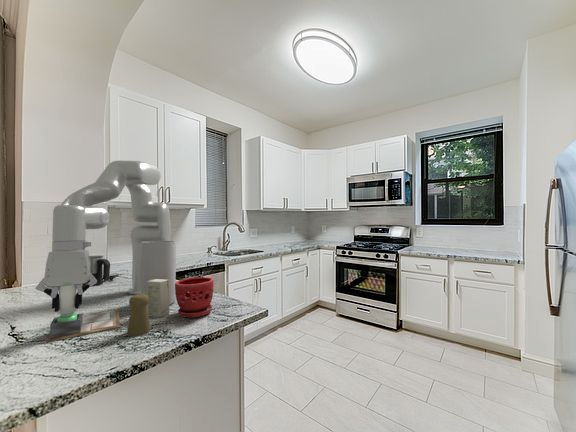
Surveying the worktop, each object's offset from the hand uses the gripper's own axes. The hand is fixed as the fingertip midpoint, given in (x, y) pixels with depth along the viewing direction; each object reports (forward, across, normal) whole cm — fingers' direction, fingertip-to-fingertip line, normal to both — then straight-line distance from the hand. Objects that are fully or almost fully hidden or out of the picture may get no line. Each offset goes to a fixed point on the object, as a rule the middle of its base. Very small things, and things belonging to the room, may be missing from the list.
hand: (67, 308), depth 76 cm
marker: (+2, 0, 0) cm, 2 cm away
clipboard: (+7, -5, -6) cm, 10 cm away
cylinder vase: (+7, -27, -17) cm, 32 cm away
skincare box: (+7, -25, -3) cm, 26 cm away
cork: (+8, -18, +10) cm, 22 cm away
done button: (+5, 0, 0) cm, 5 cm away
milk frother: (+7, -6, -76) cm, 76 cm away
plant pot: (+8, -36, +3) cm, 37 cm away
